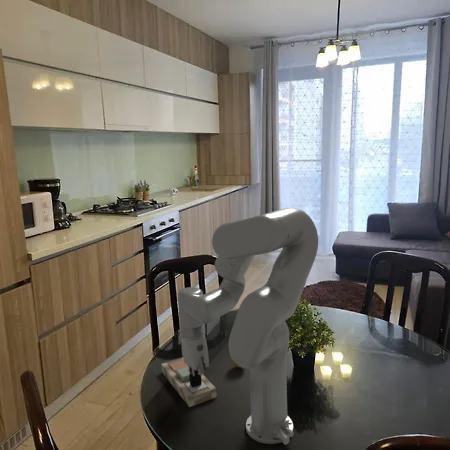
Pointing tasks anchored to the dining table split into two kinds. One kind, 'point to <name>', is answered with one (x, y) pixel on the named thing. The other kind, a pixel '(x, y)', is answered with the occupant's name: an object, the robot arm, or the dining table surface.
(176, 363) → the terracotta button
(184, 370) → the sage button
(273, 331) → the robot arm
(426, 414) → the dining table surface
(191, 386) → the offwhite button
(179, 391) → the button board
